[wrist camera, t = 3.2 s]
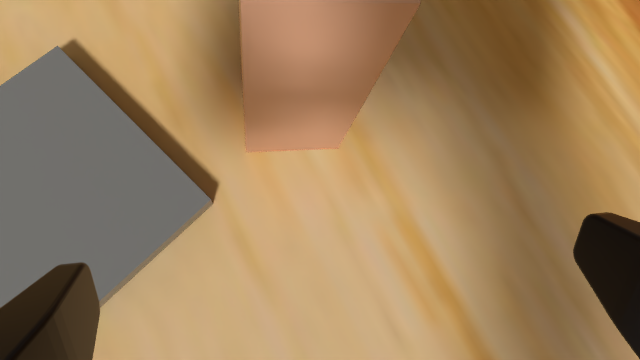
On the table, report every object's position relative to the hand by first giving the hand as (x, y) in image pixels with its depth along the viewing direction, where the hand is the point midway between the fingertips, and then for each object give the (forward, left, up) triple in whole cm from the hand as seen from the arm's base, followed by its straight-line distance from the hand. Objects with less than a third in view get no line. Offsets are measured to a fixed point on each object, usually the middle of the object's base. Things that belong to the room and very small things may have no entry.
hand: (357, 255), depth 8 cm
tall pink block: (+6, -6, -13) cm, 16 cm away
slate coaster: (+10, +5, -13) cm, 17 cm away
